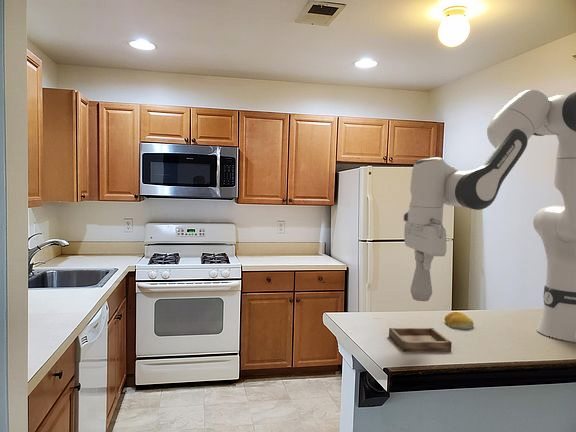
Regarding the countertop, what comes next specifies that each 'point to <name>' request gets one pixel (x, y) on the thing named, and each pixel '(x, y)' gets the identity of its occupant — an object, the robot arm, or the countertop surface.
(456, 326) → the bread roll
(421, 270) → the salt shaker
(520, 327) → the countertop surface
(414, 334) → the tray
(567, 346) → the countertop surface
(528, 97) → the robot arm
